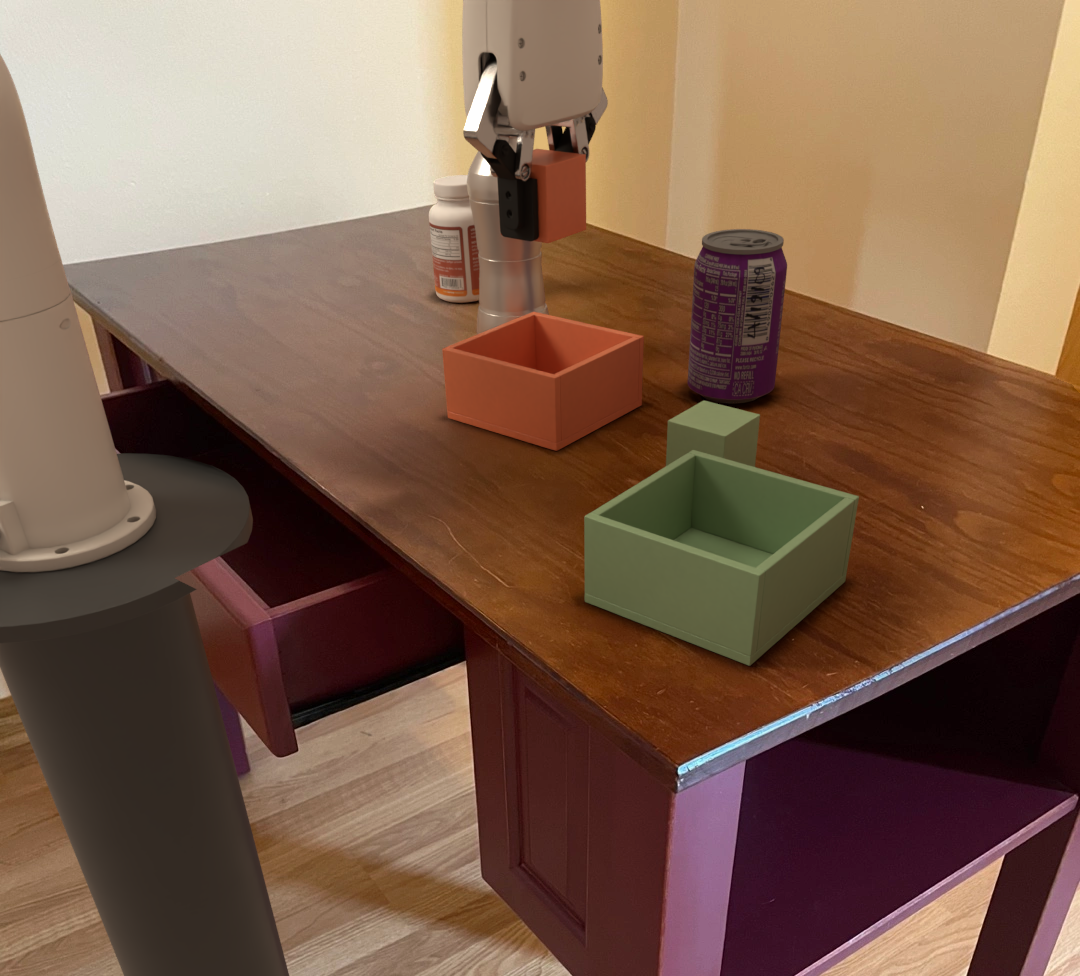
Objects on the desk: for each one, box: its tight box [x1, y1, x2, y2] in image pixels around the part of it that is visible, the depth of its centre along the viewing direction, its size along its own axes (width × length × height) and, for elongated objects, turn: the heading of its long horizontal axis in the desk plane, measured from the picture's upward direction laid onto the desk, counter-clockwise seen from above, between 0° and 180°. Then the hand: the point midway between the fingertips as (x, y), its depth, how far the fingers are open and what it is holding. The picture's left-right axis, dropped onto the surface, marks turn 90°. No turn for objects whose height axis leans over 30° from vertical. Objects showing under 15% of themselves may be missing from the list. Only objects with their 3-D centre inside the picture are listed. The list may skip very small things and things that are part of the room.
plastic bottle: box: [467, 123, 550, 335], centre depth 92 cm, size 6×7×20 cm
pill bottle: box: [428, 174, 480, 304], centre depth 110 cm, size 6×6×11 cm
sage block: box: [665, 400, 761, 467], centre depth 74 cm, size 4×4×5 cm
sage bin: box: [583, 450, 860, 667], centre depth 63 cm, size 11×11×6 cm
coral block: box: [501, 148, 587, 244], centre depth 78 cm, size 4×4×5 cm
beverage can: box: [687, 228, 788, 405], centre depth 86 cm, size 7×7×12 cm
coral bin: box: [441, 312, 645, 452], centre depth 86 cm, size 11×11×6 cm
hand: (542, 227), depth 79 cm, fingers closed on coral block, 4 cm apart
